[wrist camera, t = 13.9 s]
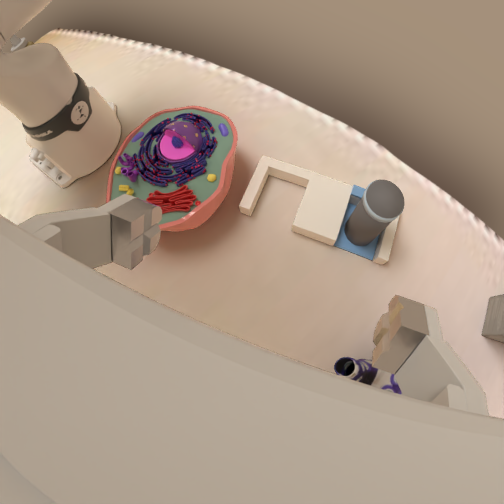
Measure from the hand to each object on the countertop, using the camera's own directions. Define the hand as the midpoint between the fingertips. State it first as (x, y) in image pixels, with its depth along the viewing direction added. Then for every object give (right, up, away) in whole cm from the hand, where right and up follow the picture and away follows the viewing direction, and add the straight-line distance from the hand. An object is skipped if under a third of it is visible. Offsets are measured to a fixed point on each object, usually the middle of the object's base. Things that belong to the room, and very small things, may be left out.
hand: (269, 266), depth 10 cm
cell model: (-11, +10, +36) cm, 39 cm away
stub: (+14, +3, +32) cm, 35 cm away
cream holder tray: (+9, +5, +33) cm, 35 cm away
